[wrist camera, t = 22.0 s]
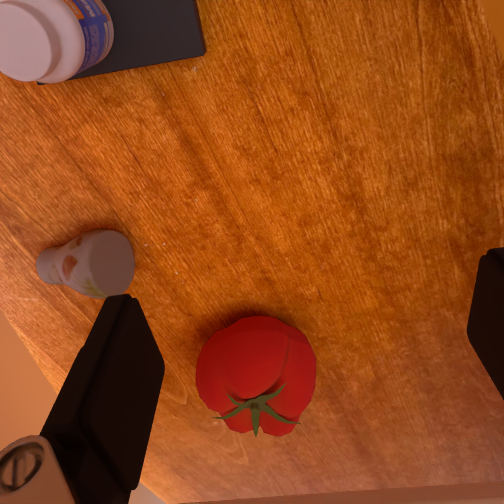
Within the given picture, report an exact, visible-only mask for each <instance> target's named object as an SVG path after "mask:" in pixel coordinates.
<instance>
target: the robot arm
mask: <svg viewBox="0 0 504 504" xmlns="http://www.w3.org/2000/svg"><path fill="white" fill-rule="evenodd" d="M467 335H468V339H469V341H470V343H471V345H472V347H473V348H474V350H475V352H476V353H477V355H478V357H479V359H480V360H481V362H482V364H483V365H484V367H485V369H486V370H487V372H488V374H489V376H490V377H491V379H492V381H493V382H494V384H495V386H496V388H497V389H498V391H499V393H500V394H501V396H502V398H503V400H504V247H502V248H494V249H489V250H488V251H487V254H486V255H483V256H481V258H480V261H479V267H478V272H477V277H476V282H475V288H474V293H473V298H472V304H471V309H470V314H469V320H468V325H467ZM164 372H165V365H164V360H163V358H162V355H161V353H160V351H159V348H158V346H157V344H156V341H155V339H154V337H153V334H152V332H151V329H150V327H149V325H148V322H147V320H146V318H145V315H144V313H143V311H142V308H141V306H140V304H139V301H138V299H136V298H132V297H131V296H130V295H129V294H121V295H113V296H108V297H107V298H106V300H105V302H104V304H103V306H102V308H101V310H100V312H99V314H98V317H97V319H96V321H95V323H94V325H93V327H92V329H91V331H90V334H89V336H88V338H87V340H86V342H85V344H84V346H83V347H82V348H81V349H80V351H79V352H78V355H77V357H76V359H75V361H74V363H73V365H72V367H71V369H70V371H69V373H68V376H67V378H66V380H65V382H64V384H63V386H62V388H61V390H60V392H59V395H58V397H57V399H56V401H55V403H54V405H53V407H52V409H51V411H50V414H49V416H48V418H47V420H46V422H45V424H44V426H43V428H42V430H41V432H40V435H31V436H27V437H23V438H20V439H18V440H16V441H15V442H13V443H11V444H9V445H8V446H7V447H6V448H4V449H3V450H2V451H0V504H128V502H129V498H130V493H131V490H135V489H136V488H137V486H138V483H139V480H140V475H141V471H142V467H143V462H144V458H145V454H146V450H147V445H148V441H149V437H150V432H151V428H152V424H153V420H154V415H155V411H156V407H157V402H158V398H159V394H160V389H161V385H162V381H163V377H164ZM181 504H504V481H501V482H486V483H470V484H454V485H439V486H423V487H407V488H392V489H377V490H363V491H348V492H334V493H319V494H305V495H290V496H276V497H262V498H249V499H235V500H222V501H208V502H195V503H181Z"/></svg>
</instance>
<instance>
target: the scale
mask: <svg viewBox="0 0 504 504" xmlns="http://www.w3.org/2000/svg"><path fill="white" fill-rule="evenodd" d="M101 1H102V3H103V4H104V5H105V7H106V9H107V10H108V12H109V14H110V17H111V20H112V23H113V29H114V38H113V43H112V47H111V49H110V51H109V53H108V54H107V55H106V57H105V58H104V59H103V60H101V61H100V62H99V63H97V64H95V65H93V66H91V67H89V68H88V69H86V70H84V71H82V72H80V73H78V74H77V75H75V76H73V77H71V78H69V79H67V80H72V79H77V78H83V77H88V76H94V75H99V74H105V73H110V72H116V71H121V70H127V69H132V68H138V67H143V66H149V65H155V64H160V63H166V62H171V61H177V60H182V59H188V58H193V57H199V56H204V54H205V53H206V46H205V42H204V37H203V32H202V27H201V22H200V17H199V12H198V8H197V3H196V0H101ZM65 81H66V80H65ZM36 82H37V81H36ZM44 84H50V83H41V82H37V85H44Z"/></svg>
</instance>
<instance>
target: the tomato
mask: <svg viewBox="0 0 504 504" xmlns="http://www.w3.org/2000/svg"><path fill="white" fill-rule="evenodd" d="M315 379H316V357H315V355H314V352H313V350H312V347H311V345H310V343H309V342H308V340H307V338H306V336H305V335H304V334H303V333H302V332H301V331H300V330H299V329H296V328H293V327H291V326H288V325H285V324H284V323H283V322H281V321H280V320H278V319H277V318H275V317H269V316H251V317H244V318H241V319H239V320H238V321H236V322H235V323H234V324H232V325H231V326H229V327H227V328H224V329H221V330H218V331H216V332H215V333H214V334H213V335H212V336H211V337H210V338H209V340H208V341H207V342H206V344H205V345H204V346H203V348H202V350H201V352H200V355H199V357H198V360H197V367H196V387H197V390H198V393H199V396H200V398H201V399H202V400H203V402H204V403H205V404H206V405H207V407H208V408H209V409H211V410H214V411H216V412H219V413H220V415H221V416H222V417H212V418H217V419H223V420H224V421H225V423H226V424H227V426H228V427H229V429H230V430H233V431H236V432H239V433H245V432H248V431H251V430H254V434H255V437H256V436H257V433H258V427H259V426H261V428H262V429H263V431H264V433H267V434H270V435H273V436H283V435H285V434H288V433H290V432H291V431H292V430H293V429H294V427H295V426H296V424H301V423H298V420H299V417H300V414H301V413H302V412H303V410H304V409H305V408H306V407H307V405H308V404H309V403H310V402H311V399H312V396H313V392H314V389H315Z"/></svg>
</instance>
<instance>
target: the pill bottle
mask: <svg viewBox="0 0 504 504" xmlns="http://www.w3.org/2000/svg"><path fill="white" fill-rule="evenodd" d="M113 38H114V29H113V23H112V20H111V17H110V14H109V12H108V10H107V9H106V7H105V5H104V4H103V3H102V1H101V0H0V71H1V72H2V73H3V74H5V75H7V76H8V77H10V78H13V79H15V80H19V81H25V82H29V81H37V82H41V83H50V84H51V83H59V82H62V81H65V80H67V79H69V78H71V77H73V76H75V75H77V74H78V73H80V72H82V71H84V70H86V69H88V68H89V67H91V66H93V65H95V64H97V63H99V62H100V61H101V60H103V59H104V58H105V57H106V55H107V54H108V53H109V51H110V49H111V47H112V43H113Z"/></svg>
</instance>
